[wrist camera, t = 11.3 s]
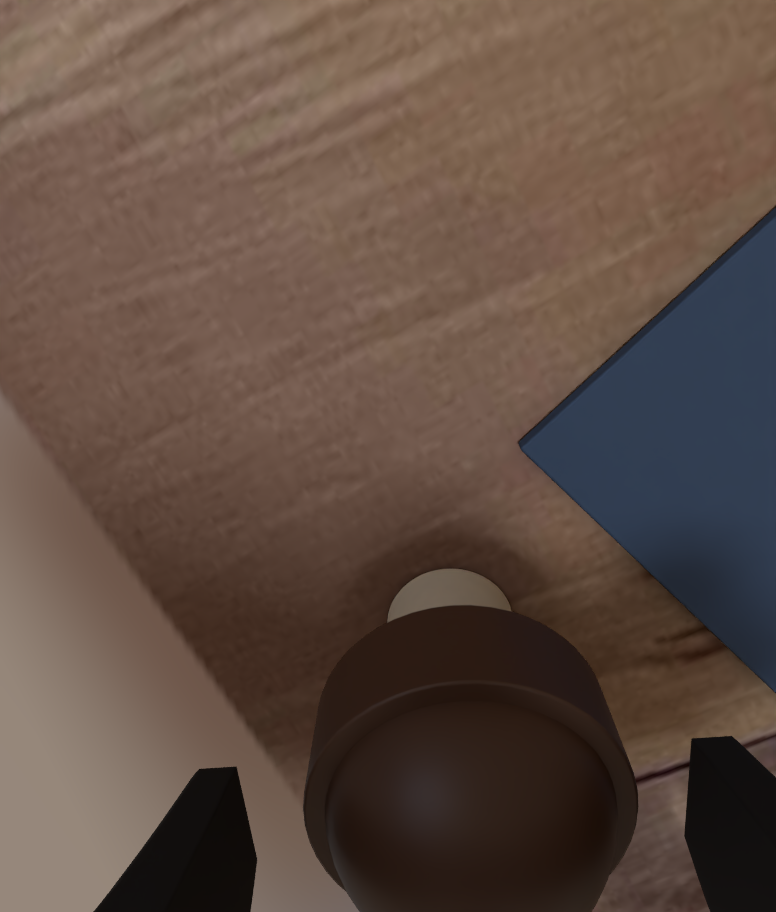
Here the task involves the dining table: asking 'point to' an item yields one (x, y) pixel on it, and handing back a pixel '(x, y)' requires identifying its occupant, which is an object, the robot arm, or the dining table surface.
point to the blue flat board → (689, 448)
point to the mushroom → (467, 762)
